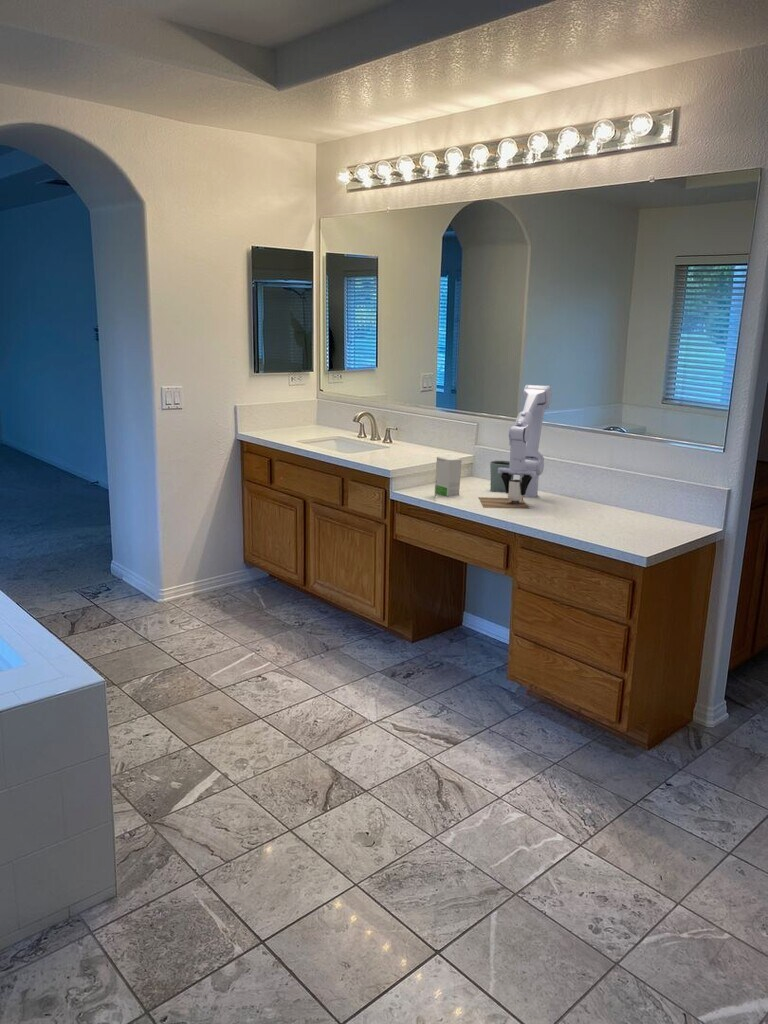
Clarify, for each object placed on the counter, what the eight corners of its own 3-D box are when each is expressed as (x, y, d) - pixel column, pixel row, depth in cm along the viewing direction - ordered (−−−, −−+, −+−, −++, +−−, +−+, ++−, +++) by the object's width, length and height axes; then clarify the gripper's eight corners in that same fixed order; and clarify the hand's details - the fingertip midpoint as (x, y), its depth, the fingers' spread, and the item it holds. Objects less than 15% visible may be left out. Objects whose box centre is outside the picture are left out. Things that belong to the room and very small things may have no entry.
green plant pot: (485, 489, 332) (486, 460, 329) (507, 488, 335) (508, 459, 332) (495, 494, 323) (496, 465, 320) (518, 493, 326) (519, 464, 323)
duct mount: (478, 499, 312) (478, 487, 311) (521, 500, 312) (522, 487, 311) (483, 510, 295) (484, 497, 294) (529, 511, 295) (530, 497, 294)
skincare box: (434, 495, 319) (435, 456, 316) (446, 493, 323) (447, 455, 320) (448, 499, 313) (449, 459, 309) (460, 497, 317) (462, 458, 313)
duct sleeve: (505, 499, 302) (506, 481, 300) (511, 496, 307) (512, 478, 305) (519, 501, 299) (520, 482, 298) (525, 498, 304) (526, 480, 302)
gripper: (495, 457, 300) (493, 493, 303) (532, 461, 292) (530, 498, 296) (502, 455, 305) (500, 490, 309) (539, 458, 298) (536, 494, 302)
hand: (515, 493), depth 303 cm, fingers closed on duct sleeve, 6 cm apart
